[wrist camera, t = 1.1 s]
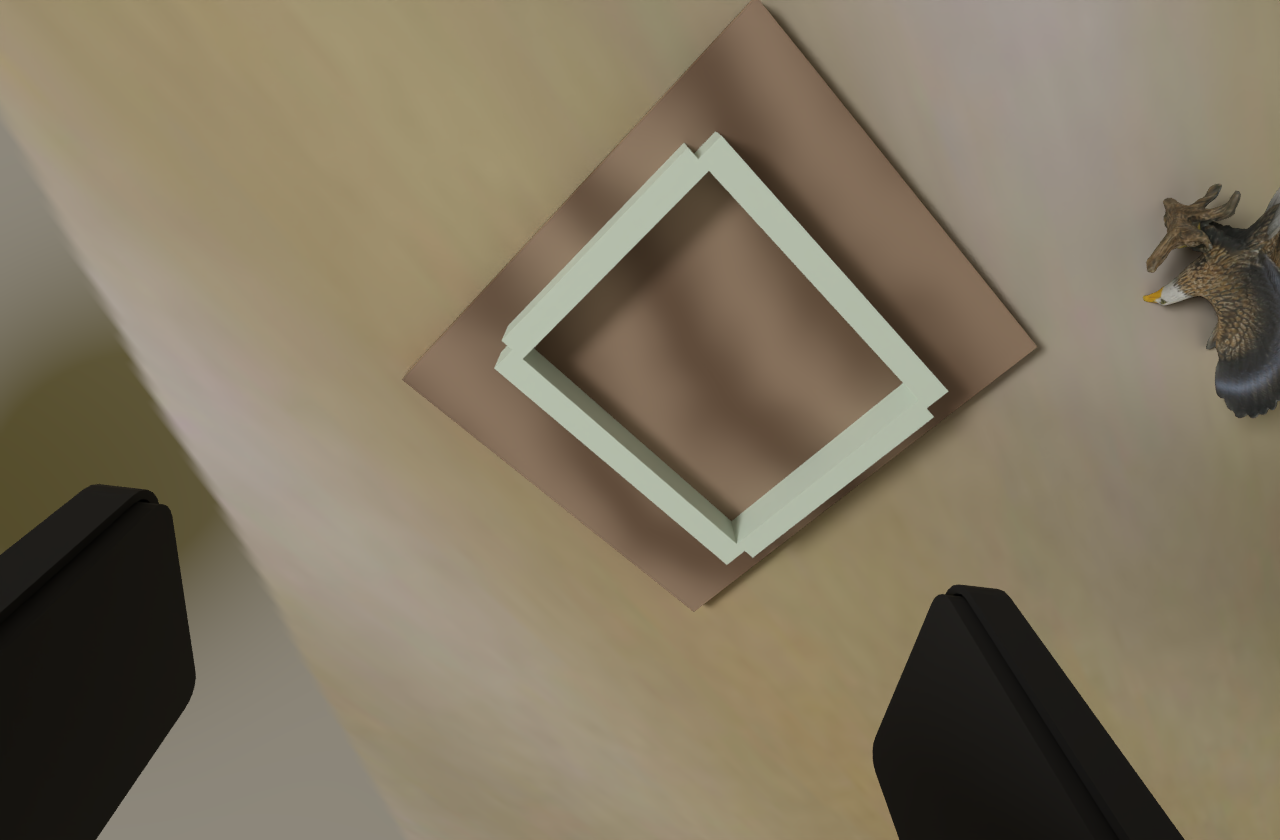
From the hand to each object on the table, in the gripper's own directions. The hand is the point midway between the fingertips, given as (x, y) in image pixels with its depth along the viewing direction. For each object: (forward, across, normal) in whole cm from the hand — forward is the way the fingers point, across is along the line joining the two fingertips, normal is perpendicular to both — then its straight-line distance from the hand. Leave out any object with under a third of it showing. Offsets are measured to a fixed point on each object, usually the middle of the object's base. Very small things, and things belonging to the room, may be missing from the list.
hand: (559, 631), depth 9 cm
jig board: (+26, -6, +5) cm, 27 cm away
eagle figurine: (+26, -27, -2) cm, 37 cm away
